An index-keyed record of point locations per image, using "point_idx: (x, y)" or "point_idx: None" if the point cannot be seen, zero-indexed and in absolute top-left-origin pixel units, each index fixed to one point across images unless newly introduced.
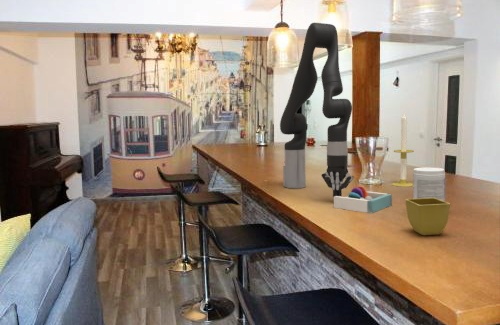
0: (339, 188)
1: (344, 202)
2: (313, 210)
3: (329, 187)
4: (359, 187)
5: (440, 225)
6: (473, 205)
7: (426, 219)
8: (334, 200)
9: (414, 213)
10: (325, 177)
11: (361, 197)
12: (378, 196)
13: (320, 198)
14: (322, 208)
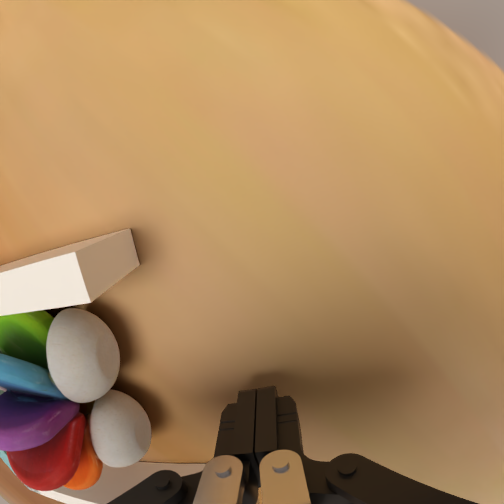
0: (205, 477)
1: (19, 263)
2: (178, 27)
3: (343, 454)
4: (30, 479)
5: None
6: (11, 497)
7: None
8: (91, 242)
9: None
10: None
11: (5, 392)
12: None
13: (444, 380)
14: (175, 127)
